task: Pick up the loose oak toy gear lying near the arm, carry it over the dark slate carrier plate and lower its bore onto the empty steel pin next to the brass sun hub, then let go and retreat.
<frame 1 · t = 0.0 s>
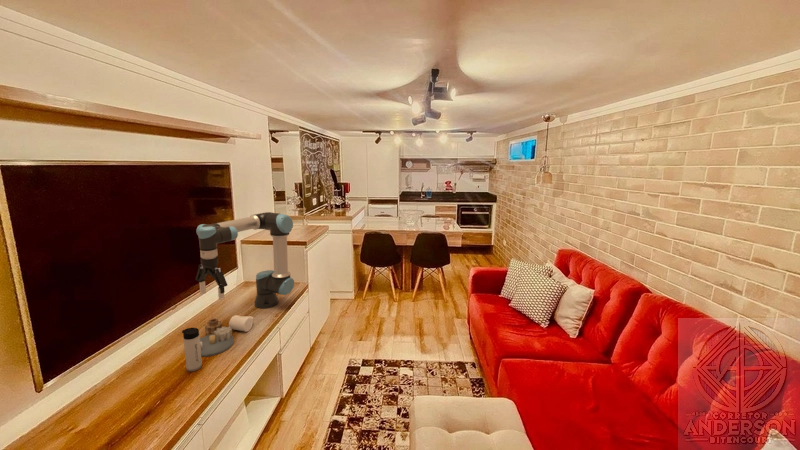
hand: (212, 296, 167), 28 cm above the tv stand, fingers open, 13 cm apart
oak gear: (214, 330, 186), on the tv stand
mug: (243, 328, 191), on the tv stand
carrier: (212, 345, 172), on the tv stand
travel mug: (194, 368, 154), on the tv stand
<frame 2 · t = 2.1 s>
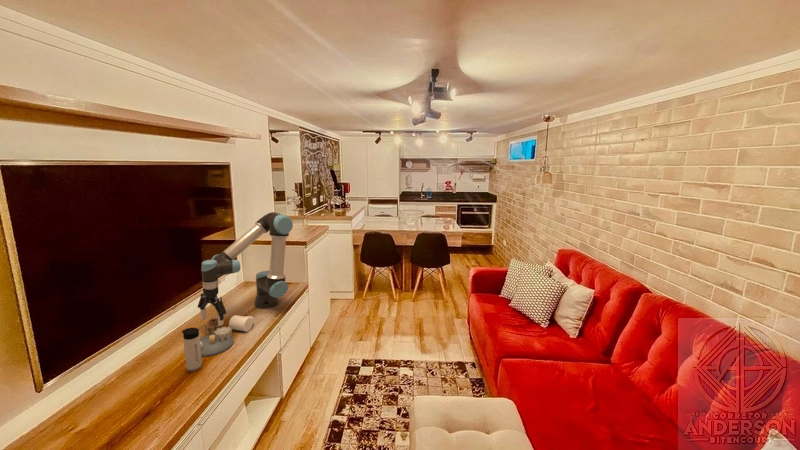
hand: (212, 322, 184), 5 cm above the tv stand, fingers open, 13 cm apart
nothing on the tv stand moved.
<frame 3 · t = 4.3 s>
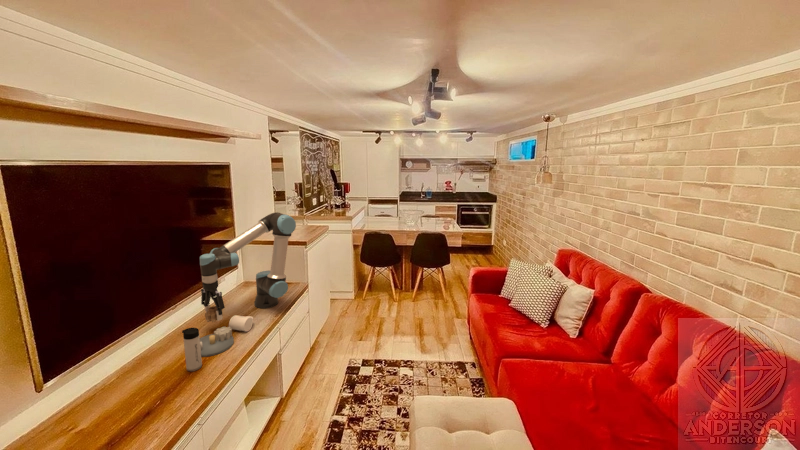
hand: (214, 317, 185), 8 cm above the tv stand, fingers closed on oak gear, 8 cm apart
oak gear: (214, 318, 185), point 8 cm above the tv stand, touching gripper
everything else where it was.
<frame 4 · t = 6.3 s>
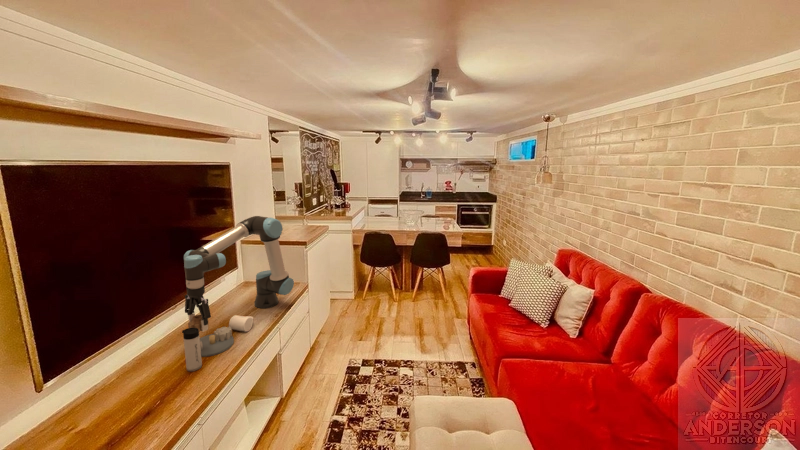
hand: (198, 328, 163), 14 cm above the tv stand, fingers closed on oak gear, 8 cm apart
oak gear: (198, 328, 163), point 13 cm above the tv stand, touching gripper
everything else where it was.
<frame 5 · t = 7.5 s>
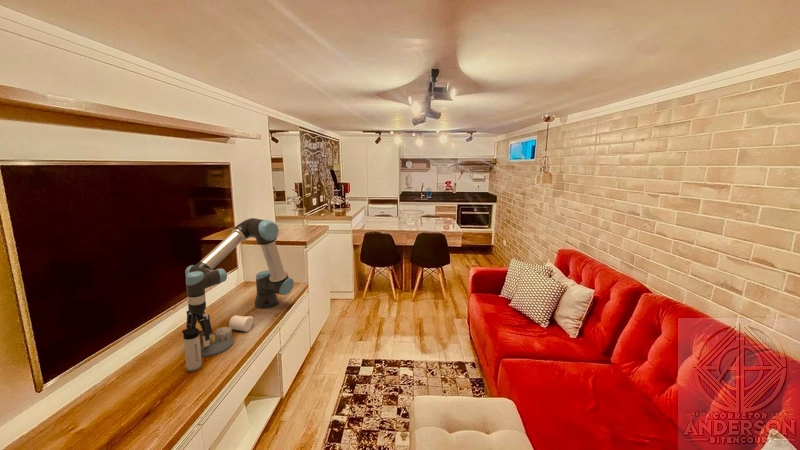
hand: (200, 343, 165), 5 cm above the tv stand, fingers closed on oak gear, 8 cm apart
oak gear: (200, 343, 165), point 5 cm above the tv stand, touching gripper
everything else where it was.
when the fingers open (2 cm above the tv stand, at t = 8.4 s): oak gear stays where it is, resting on carrier.
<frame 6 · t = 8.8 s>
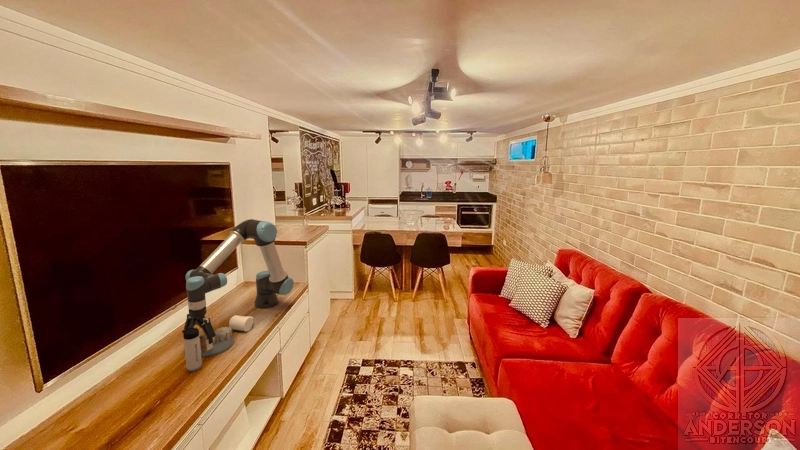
hand: (200, 345, 165), 4 cm above the tv stand, fingers open, 13 cm apart
oak gear: (201, 349, 166), point 1 cm above the tv stand, touching carrier
everything else where it was.
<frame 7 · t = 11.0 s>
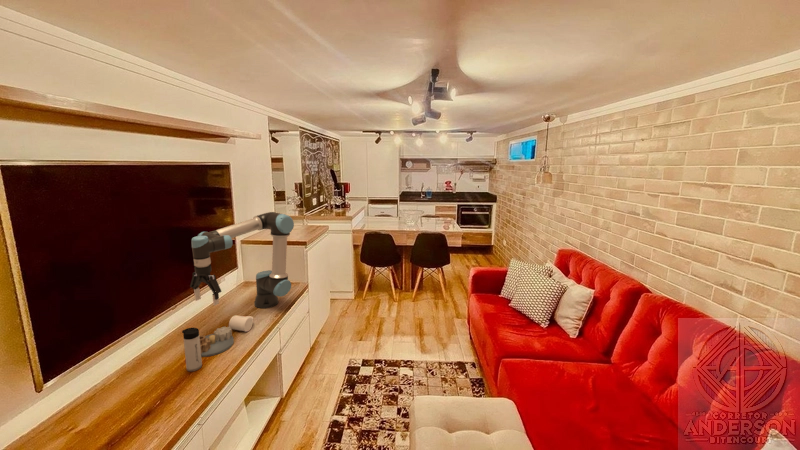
hand: (207, 302, 174), 22 cm above the tv stand, fingers open, 13 cm apart
nothing on the tv stand moved.
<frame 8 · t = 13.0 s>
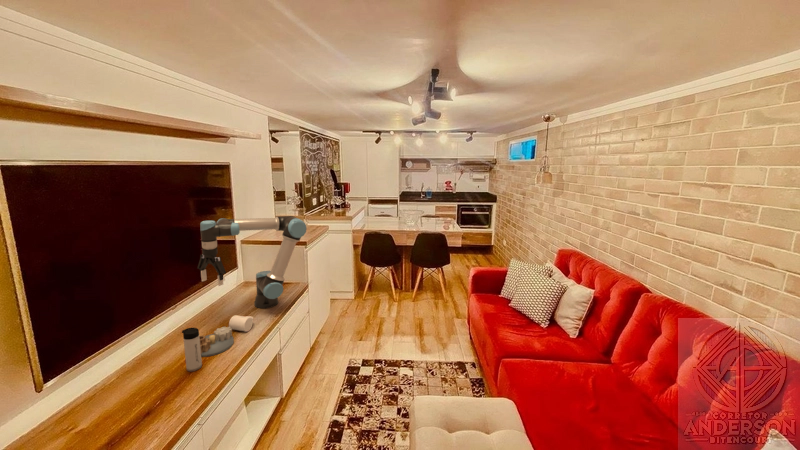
hand: (212, 282, 187), 27 cm above the tv stand, fingers open, 13 cm apart
nothing on the tv stand moved.
at the end: oak gear 0.0 cm from the target spot on the carrier, point 1.5 cm above the carrier's base; oak gear tilted 0°; the gripper is holding nothing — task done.
